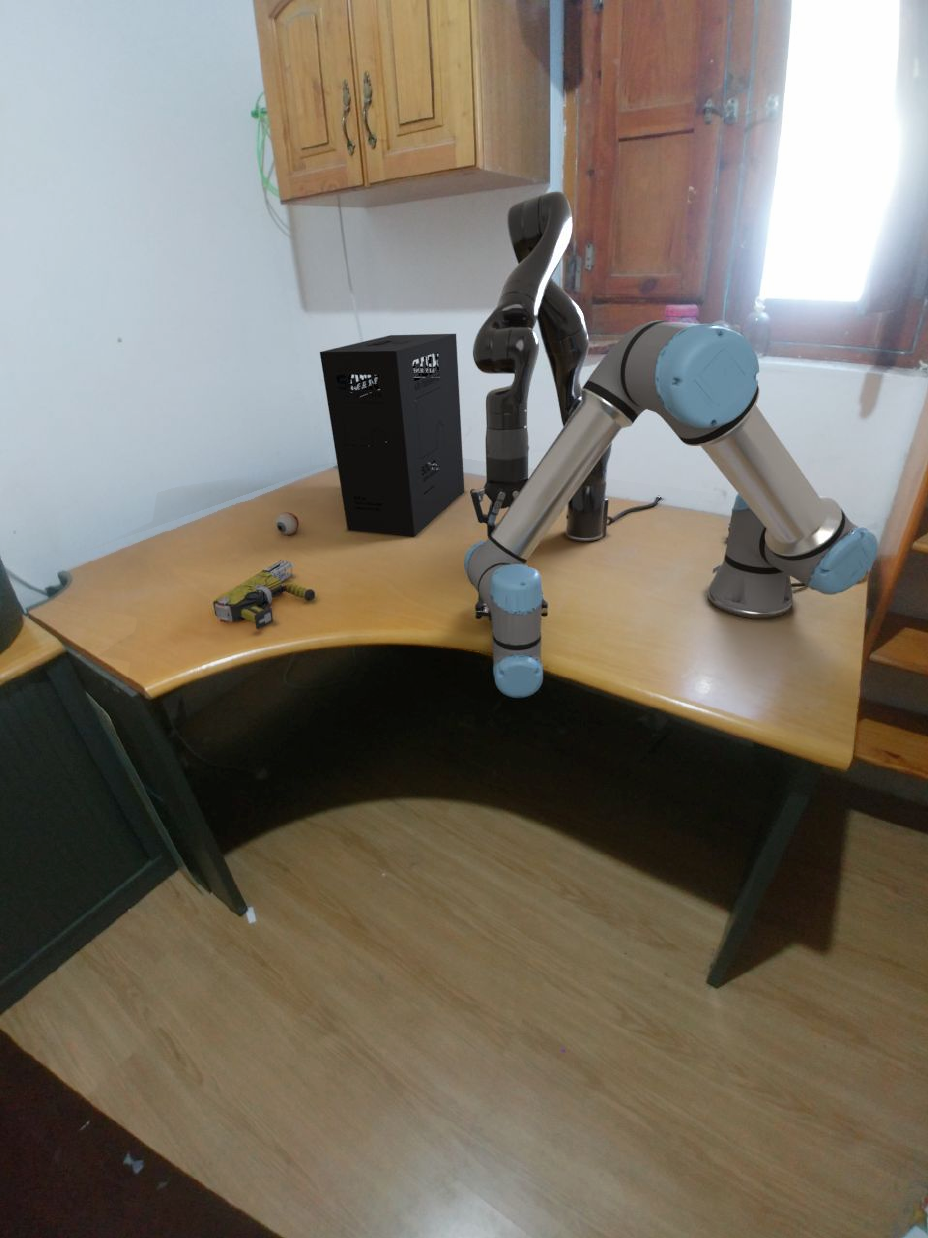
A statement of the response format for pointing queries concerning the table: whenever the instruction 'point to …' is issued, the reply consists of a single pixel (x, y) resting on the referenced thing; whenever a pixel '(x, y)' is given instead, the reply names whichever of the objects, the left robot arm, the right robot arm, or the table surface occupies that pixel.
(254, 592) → the toy gun
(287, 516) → the eyeball
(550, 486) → the right robot arm
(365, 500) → the cardboard box
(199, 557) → the table surface
